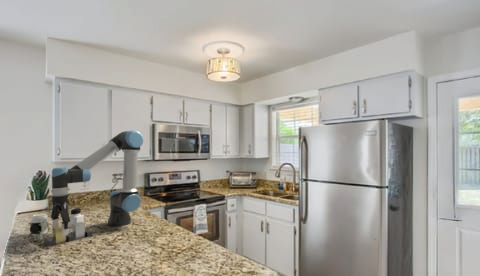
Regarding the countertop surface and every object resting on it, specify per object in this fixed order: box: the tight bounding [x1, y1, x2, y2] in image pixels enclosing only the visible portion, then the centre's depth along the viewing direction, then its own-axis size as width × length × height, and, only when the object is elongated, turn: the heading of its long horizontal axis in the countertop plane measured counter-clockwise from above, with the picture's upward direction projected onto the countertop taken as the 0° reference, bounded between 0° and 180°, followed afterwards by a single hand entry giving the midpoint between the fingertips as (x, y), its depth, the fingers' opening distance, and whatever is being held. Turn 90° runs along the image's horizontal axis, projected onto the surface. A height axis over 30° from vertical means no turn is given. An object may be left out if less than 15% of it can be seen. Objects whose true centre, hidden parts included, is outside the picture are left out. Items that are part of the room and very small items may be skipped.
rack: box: [43, 228, 94, 247], centre depth 159 cm, size 22×9×3 cm, turn 143°
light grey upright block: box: [71, 222, 86, 240], centre depth 163 cm, size 5×5×8 cm
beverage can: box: [30, 213, 49, 237], centre depth 171 cm, size 8×8×12 cm
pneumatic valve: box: [29, 219, 49, 241], centre depth 160 cm, size 6×12×12 cm, turn 15°
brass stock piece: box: [52, 225, 67, 244], centre depth 155 cm, size 5×5×8 cm
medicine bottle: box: [68, 207, 85, 229], centre depth 188 cm, size 7×7×12 cm
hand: (60, 232), depth 155 cm, fingers open, 13 cm apart
